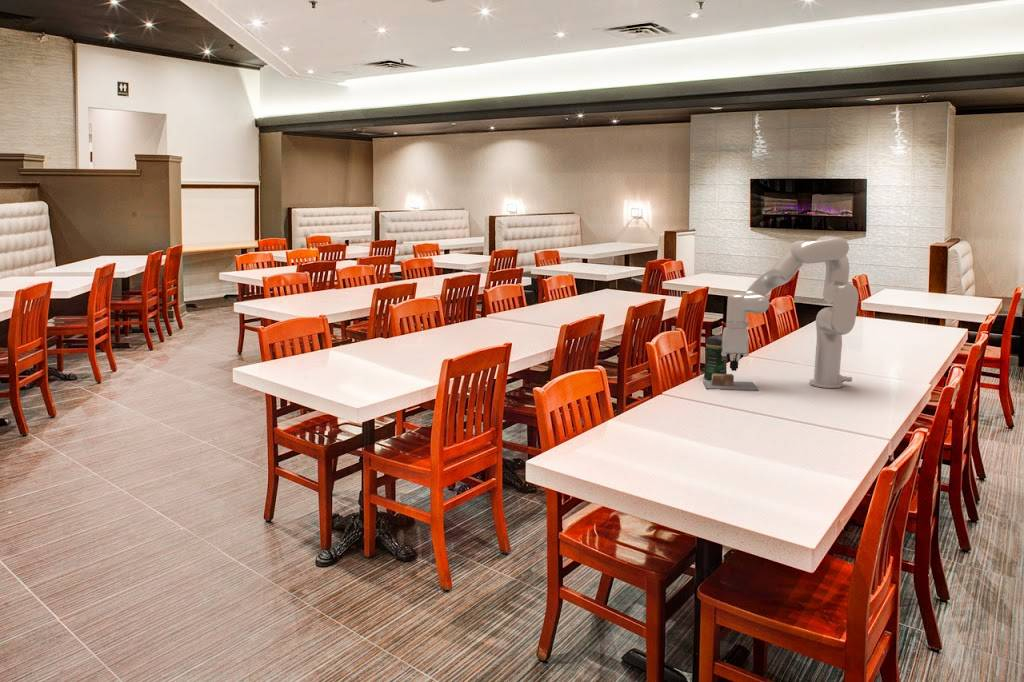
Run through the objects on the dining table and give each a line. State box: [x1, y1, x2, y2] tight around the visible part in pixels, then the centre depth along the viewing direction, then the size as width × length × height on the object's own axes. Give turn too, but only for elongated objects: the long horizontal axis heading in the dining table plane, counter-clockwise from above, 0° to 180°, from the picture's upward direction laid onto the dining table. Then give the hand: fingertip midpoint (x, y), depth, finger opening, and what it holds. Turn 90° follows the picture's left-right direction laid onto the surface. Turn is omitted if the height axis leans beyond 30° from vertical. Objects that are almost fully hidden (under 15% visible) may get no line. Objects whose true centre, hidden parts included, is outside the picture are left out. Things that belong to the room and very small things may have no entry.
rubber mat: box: [702, 380, 759, 392], centre depth 304 cm, size 20×13×1 cm, turn 83°
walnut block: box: [711, 373, 735, 386], centre depth 304 cm, size 4×4×8 cm
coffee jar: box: [703, 334, 728, 381], centre depth 315 cm, size 10×8×19 cm
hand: (733, 370), depth 303 cm, fingers closed
